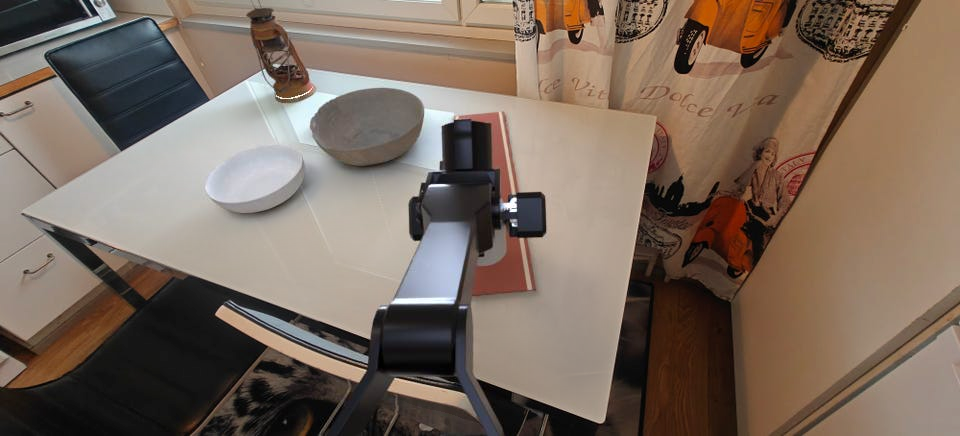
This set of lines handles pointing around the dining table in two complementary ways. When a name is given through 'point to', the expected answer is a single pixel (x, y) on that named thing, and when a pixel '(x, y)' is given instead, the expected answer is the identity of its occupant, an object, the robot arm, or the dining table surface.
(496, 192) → the robot arm
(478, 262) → the can
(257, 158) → the serving bowl
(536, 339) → the dining table surface
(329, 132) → the bowl
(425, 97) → the dining table surface
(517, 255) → the red table runner
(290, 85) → the lantern
